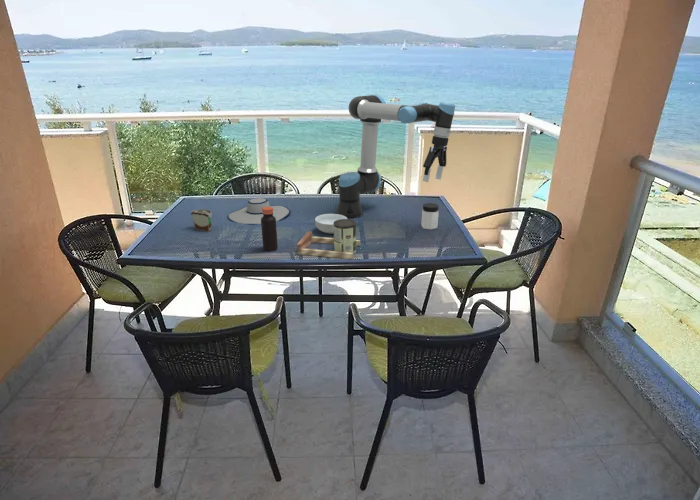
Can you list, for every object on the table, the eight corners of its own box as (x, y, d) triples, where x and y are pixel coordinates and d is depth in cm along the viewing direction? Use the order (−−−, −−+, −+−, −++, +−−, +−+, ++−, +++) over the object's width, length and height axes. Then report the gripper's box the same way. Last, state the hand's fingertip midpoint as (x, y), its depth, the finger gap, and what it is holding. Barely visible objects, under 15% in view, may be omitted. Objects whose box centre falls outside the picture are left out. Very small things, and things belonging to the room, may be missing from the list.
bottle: (265, 245, 216) (262, 205, 208) (279, 246, 215) (276, 206, 207) (261, 251, 210) (258, 210, 202) (275, 251, 209) (272, 210, 201)
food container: (219, 228, 238) (216, 210, 234) (211, 232, 233) (208, 214, 229) (201, 225, 243) (198, 207, 239) (192, 228, 237) (190, 210, 233)
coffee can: (345, 245, 216) (344, 217, 211) (360, 250, 210) (360, 222, 204) (329, 251, 210) (328, 222, 204) (344, 257, 203) (344, 228, 198)
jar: (428, 230, 234) (429, 208, 230) (417, 226, 241) (419, 204, 236) (440, 227, 239) (442, 205, 234) (430, 223, 245) (431, 201, 240)
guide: (297, 254, 206) (297, 244, 204) (308, 240, 221) (308, 231, 220) (352, 259, 201) (352, 248, 199) (360, 245, 216) (360, 235, 214)
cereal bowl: (335, 239, 223) (335, 226, 220) (308, 233, 231) (308, 220, 228) (353, 229, 236) (353, 216, 234) (327, 223, 244) (327, 211, 242)
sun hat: (293, 205, 277) (292, 191, 274) (287, 225, 244) (286, 209, 241) (234, 205, 276) (233, 191, 273) (220, 226, 243) (218, 210, 240)
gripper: (436, 138, 201) (426, 184, 209) (458, 137, 221) (449, 179, 228) (421, 135, 205) (412, 180, 213) (445, 134, 225) (436, 176, 232)
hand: (431, 180), depth 221 cm, fingers open, 13 cm apart
